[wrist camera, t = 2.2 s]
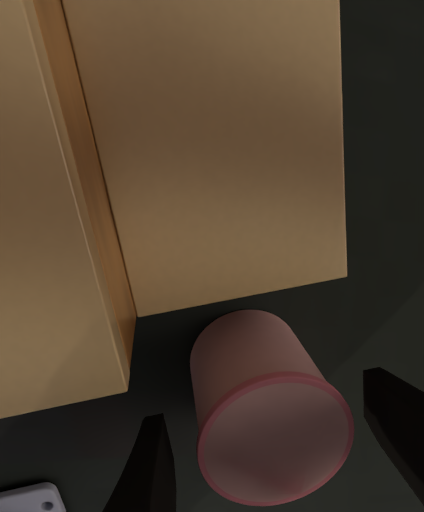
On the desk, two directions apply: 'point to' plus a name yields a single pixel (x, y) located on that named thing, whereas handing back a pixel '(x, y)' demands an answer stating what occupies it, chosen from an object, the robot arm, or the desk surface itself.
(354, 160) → the desk surface
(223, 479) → the pink cylinder
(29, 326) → the step shelf
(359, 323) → the desk surface
